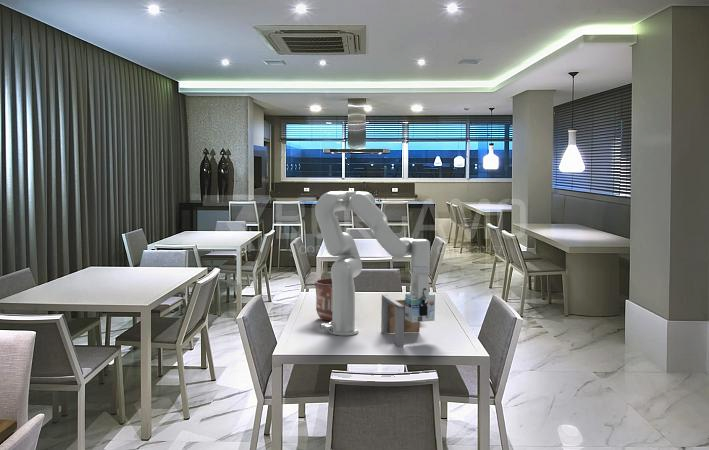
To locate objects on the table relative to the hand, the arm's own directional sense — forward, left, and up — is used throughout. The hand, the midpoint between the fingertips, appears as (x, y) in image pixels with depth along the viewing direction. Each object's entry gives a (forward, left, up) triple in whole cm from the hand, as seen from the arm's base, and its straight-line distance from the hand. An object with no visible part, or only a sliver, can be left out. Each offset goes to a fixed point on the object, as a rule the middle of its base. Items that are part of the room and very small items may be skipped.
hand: (419, 313), depth 247 cm
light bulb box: (0, 0, -3) cm, 3 cm away
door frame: (-10, +6, -11) cm, 16 cm away
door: (-3, +12, -11) cm, 17 cm away
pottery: (-26, +42, -11) cm, 51 cm away
